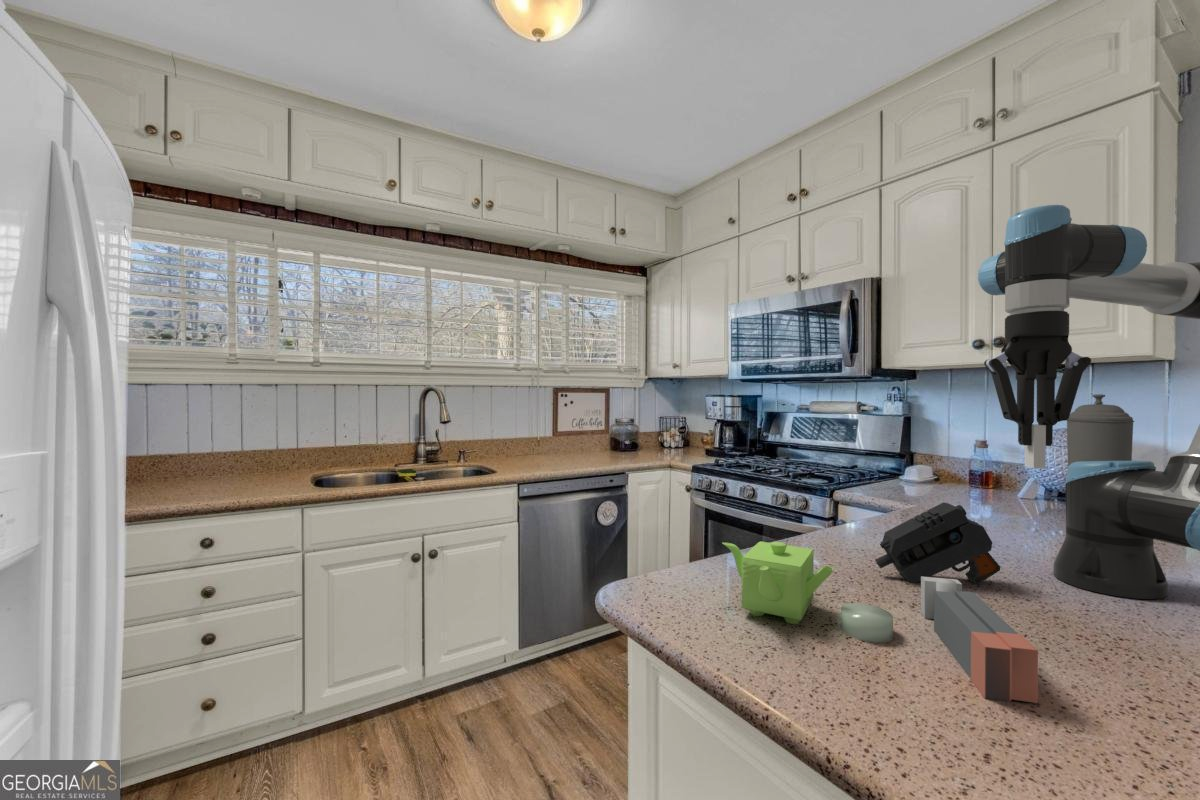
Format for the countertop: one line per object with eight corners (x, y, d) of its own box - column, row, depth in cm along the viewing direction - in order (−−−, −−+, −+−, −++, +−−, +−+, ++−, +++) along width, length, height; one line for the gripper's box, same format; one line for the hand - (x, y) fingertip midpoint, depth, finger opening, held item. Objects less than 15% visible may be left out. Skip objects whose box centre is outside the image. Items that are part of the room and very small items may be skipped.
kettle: (762, 636, 76) (761, 560, 76) (716, 599, 90) (716, 535, 90) (847, 624, 80) (847, 552, 80) (791, 590, 94) (791, 529, 94)
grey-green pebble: (886, 625, 80) (886, 606, 80) (898, 646, 74) (898, 625, 74) (837, 619, 82) (837, 601, 82) (844, 640, 76) (844, 619, 76)
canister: (1140, 539, 124) (1142, 394, 124) (1070, 532, 131) (1071, 394, 131) (1124, 528, 135) (1126, 394, 135) (1060, 521, 142) (1061, 394, 142)
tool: (1014, 574, 94) (968, 501, 95) (912, 618, 97) (870, 547, 98) (995, 563, 100) (953, 494, 101) (900, 605, 103) (860, 538, 104)
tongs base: (920, 613, 84) (920, 572, 84) (957, 616, 83) (957, 575, 83) (984, 698, 61) (984, 642, 61) (1037, 705, 59) (1037, 648, 59)
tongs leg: (953, 630, 77) (953, 589, 77) (973, 632, 77) (974, 591, 76) (1010, 699, 60) (1011, 647, 60) (1037, 703, 59) (1038, 650, 59)
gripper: (1073, 314, 81) (1072, 465, 81) (976, 317, 84) (975, 462, 85) (1105, 306, 73) (1103, 472, 74) (997, 311, 77) (995, 469, 77)
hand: (1034, 467), depth 79 cm, fingers closed
